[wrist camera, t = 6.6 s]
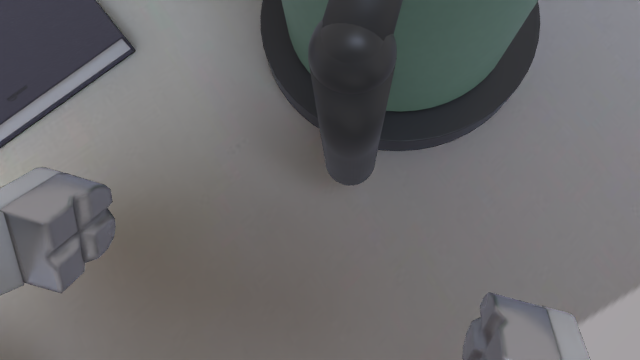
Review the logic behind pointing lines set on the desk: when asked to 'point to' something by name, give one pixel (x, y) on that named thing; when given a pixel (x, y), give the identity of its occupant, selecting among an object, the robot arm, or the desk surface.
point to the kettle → (392, 63)
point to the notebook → (51, 56)
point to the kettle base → (408, 125)
